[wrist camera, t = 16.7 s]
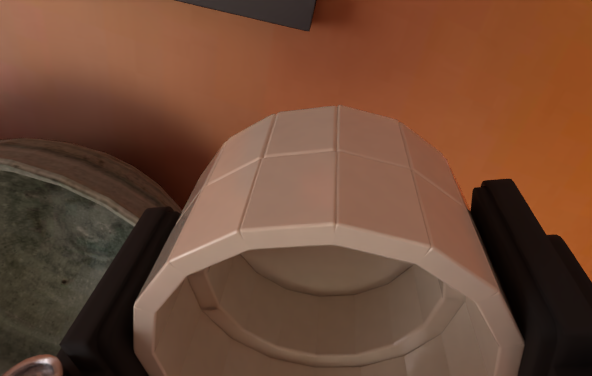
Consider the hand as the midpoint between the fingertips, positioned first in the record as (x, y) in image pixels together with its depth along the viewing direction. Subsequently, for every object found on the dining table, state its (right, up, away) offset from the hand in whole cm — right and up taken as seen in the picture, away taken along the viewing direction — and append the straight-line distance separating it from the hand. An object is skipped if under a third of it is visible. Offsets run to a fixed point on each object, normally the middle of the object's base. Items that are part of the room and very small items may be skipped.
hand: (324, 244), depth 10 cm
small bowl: (0, +1, +1) cm, 1 cm away
